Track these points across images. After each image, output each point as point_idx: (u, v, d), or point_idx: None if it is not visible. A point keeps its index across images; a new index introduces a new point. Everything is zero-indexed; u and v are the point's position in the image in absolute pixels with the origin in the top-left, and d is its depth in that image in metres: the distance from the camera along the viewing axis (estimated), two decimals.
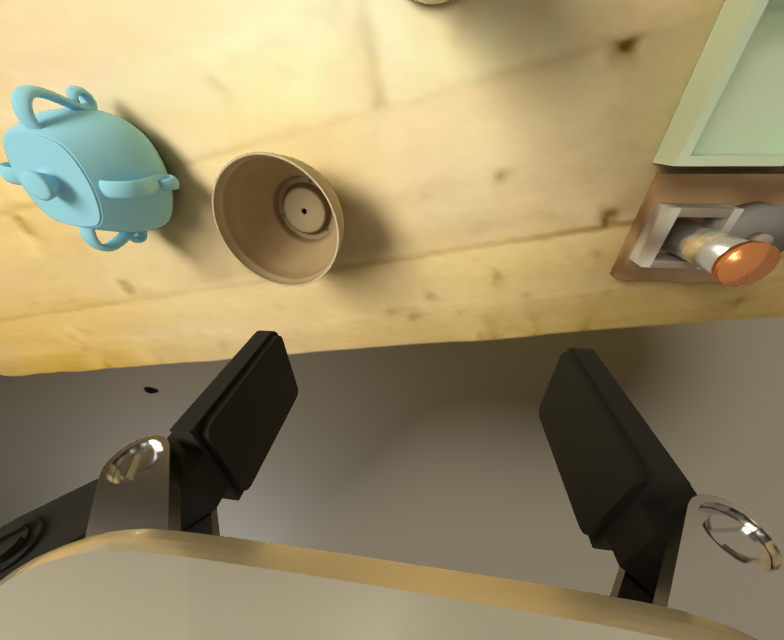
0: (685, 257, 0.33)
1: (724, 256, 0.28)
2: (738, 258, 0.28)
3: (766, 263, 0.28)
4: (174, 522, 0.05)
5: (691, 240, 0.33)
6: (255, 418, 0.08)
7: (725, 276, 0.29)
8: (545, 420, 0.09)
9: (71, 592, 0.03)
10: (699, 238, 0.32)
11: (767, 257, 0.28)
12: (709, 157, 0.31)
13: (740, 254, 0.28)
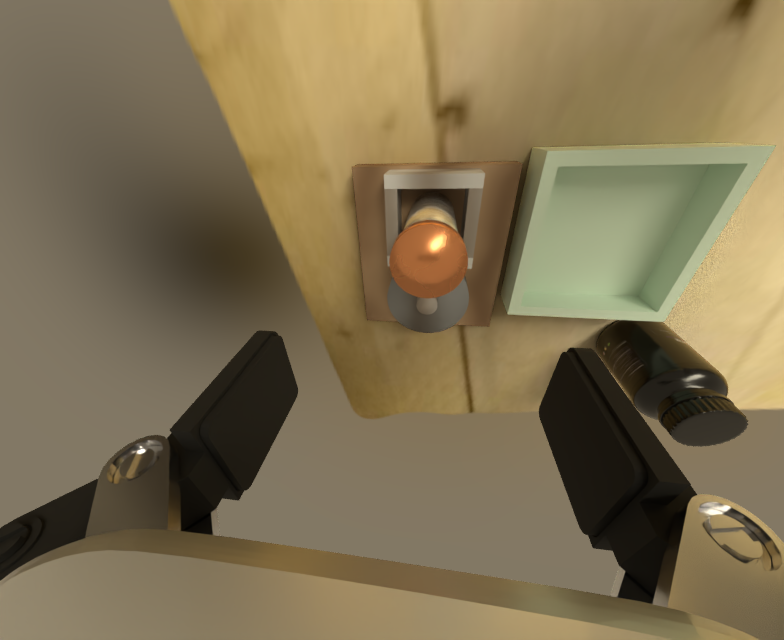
0: (413, 213, 0.20)
1: (443, 224, 0.16)
2: (443, 241, 0.16)
3: (433, 284, 0.17)
4: (174, 522, 0.05)
5: (441, 208, 0.20)
6: (255, 418, 0.08)
7: (407, 241, 0.16)
8: (545, 420, 0.09)
9: (72, 592, 0.03)
10: (447, 214, 0.19)
11: (442, 281, 0.17)
12: (548, 196, 0.22)
13: (449, 241, 0.16)
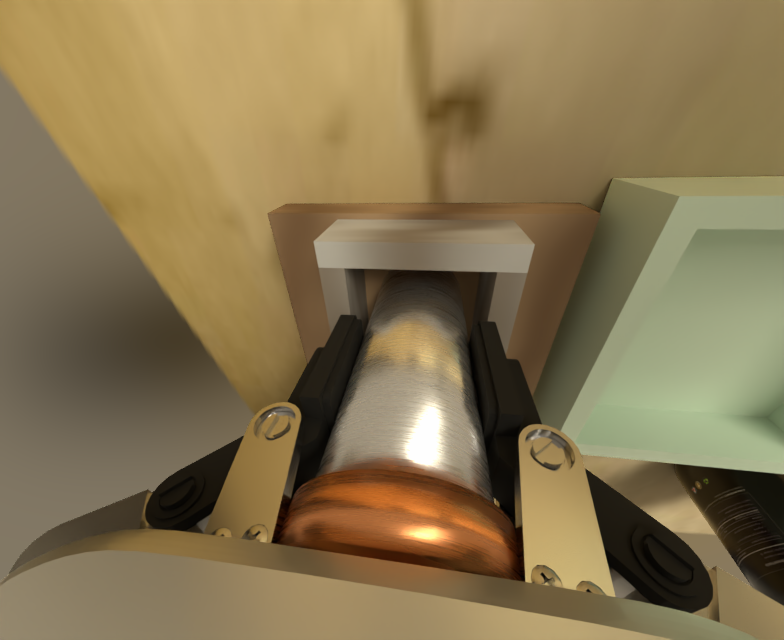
0: (372, 339, 0.09)
1: (443, 510, 0.04)
2: None
3: None
4: (285, 501, 0.05)
5: (438, 331, 0.08)
6: None
7: None
8: None
9: (71, 592, 0.03)
10: (452, 350, 0.08)
11: None
12: (660, 284, 0.10)
13: None
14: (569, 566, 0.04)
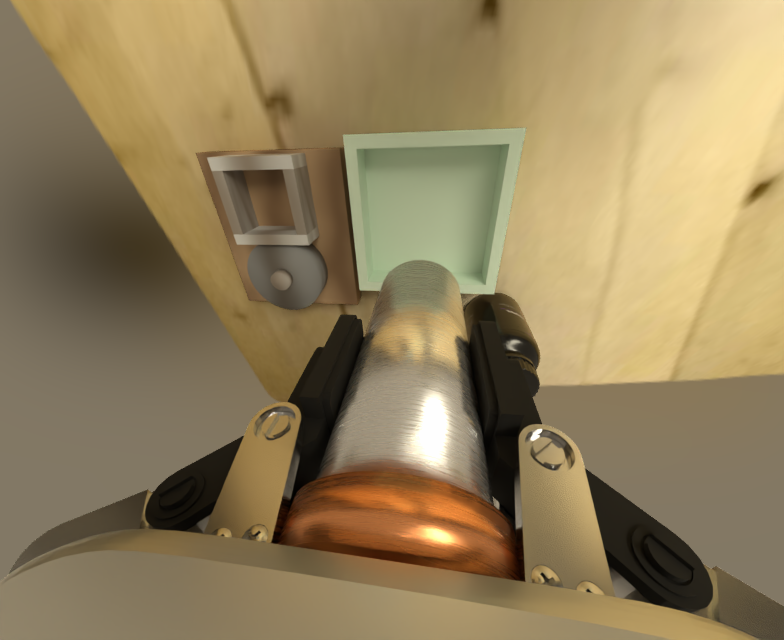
0: (372, 341, 0.09)
1: (443, 512, 0.04)
2: None
3: None
4: (285, 501, 0.05)
5: (437, 333, 0.09)
6: None
7: None
8: None
9: (71, 592, 0.03)
10: (452, 352, 0.08)
11: None
12: (356, 176, 0.24)
13: None
14: (569, 565, 0.04)
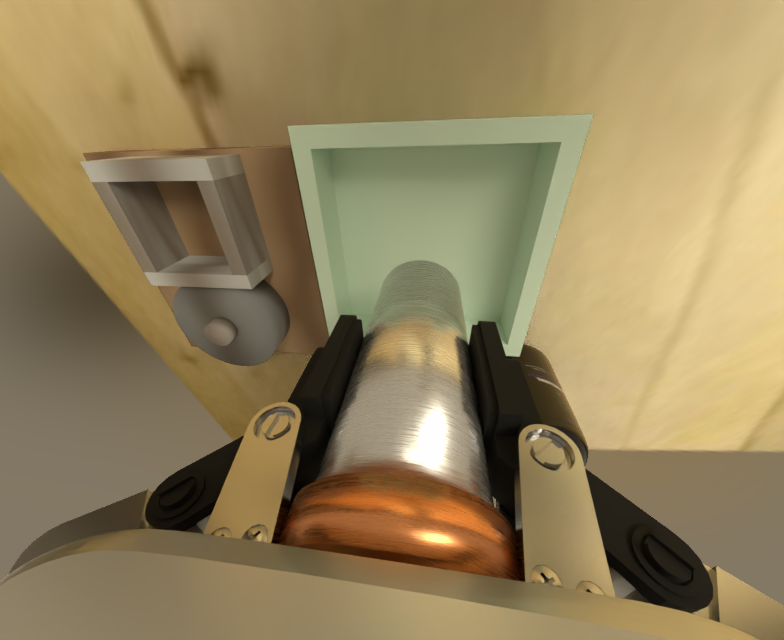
0: (372, 342, 0.09)
1: (442, 513, 0.04)
2: None
3: None
4: (285, 501, 0.05)
5: (437, 333, 0.08)
6: None
7: None
8: None
9: (72, 591, 0.03)
10: (452, 352, 0.08)
11: None
12: (314, 191, 0.15)
13: None
14: (568, 565, 0.04)
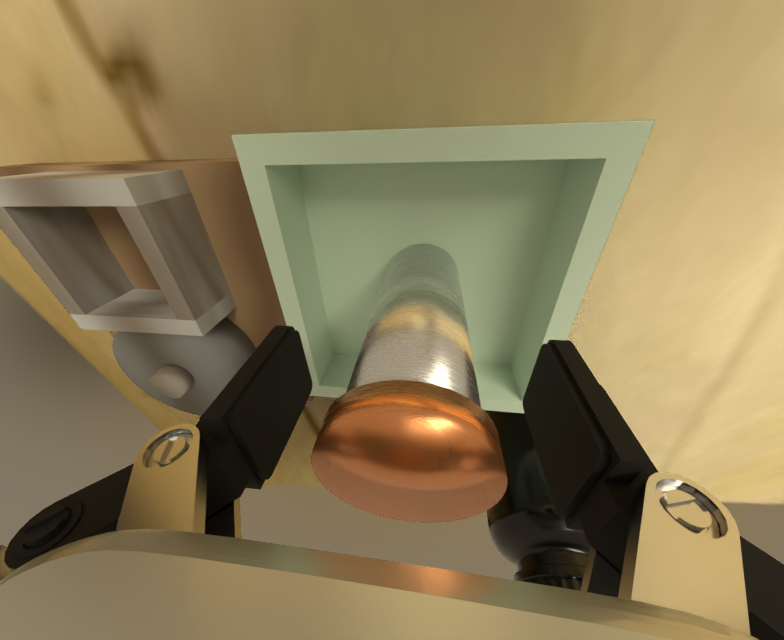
0: (383, 305, 0.10)
1: (443, 403, 0.06)
2: (444, 449, 0.06)
3: (419, 507, 0.07)
4: (199, 513, 0.05)
5: (438, 298, 0.10)
6: (275, 410, 0.08)
7: (349, 440, 0.06)
8: (528, 410, 0.10)
9: (71, 591, 0.03)
10: (450, 312, 0.10)
11: (442, 504, 0.07)
12: (274, 219, 0.12)
13: (460, 451, 0.06)
14: None
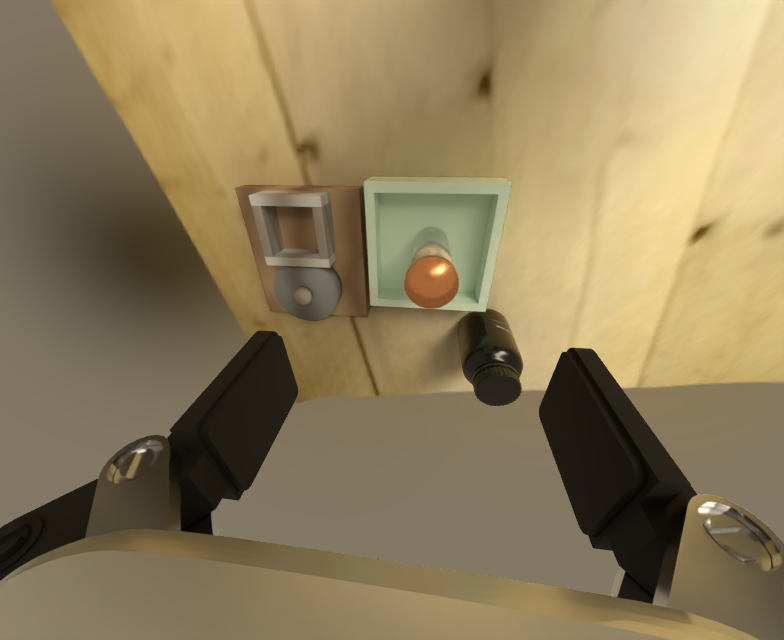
0: (419, 246, 0.27)
1: (442, 258, 0.23)
2: (442, 270, 0.23)
3: (434, 299, 0.24)
4: (174, 522, 0.05)
5: (440, 243, 0.27)
6: (255, 418, 0.08)
7: (417, 269, 0.23)
8: (545, 420, 0.09)
9: (72, 592, 0.03)
10: (444, 247, 0.27)
11: (441, 296, 0.24)
12: (373, 213, 0.29)
13: (446, 270, 0.23)
14: None
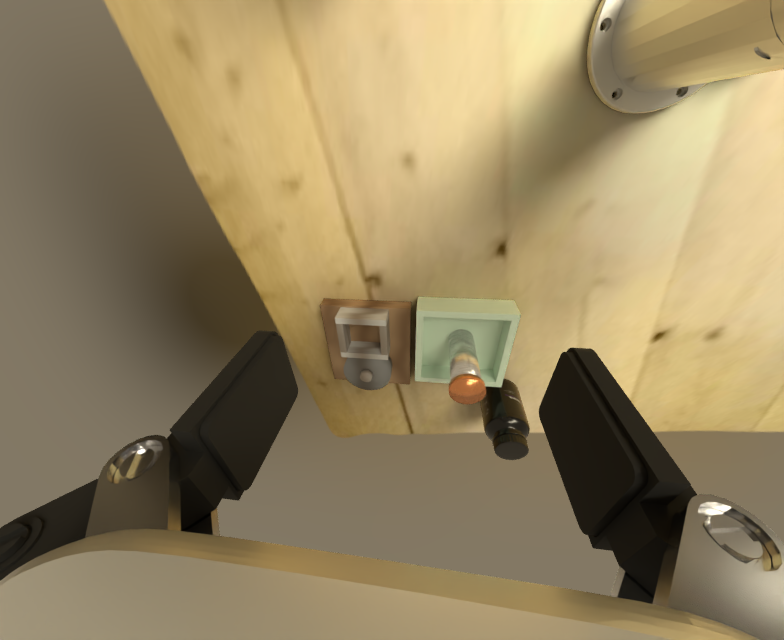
0: (456, 354, 0.39)
1: (475, 377, 0.35)
2: (475, 385, 0.35)
3: (469, 399, 0.36)
4: (174, 522, 0.05)
5: (470, 353, 0.39)
6: (255, 418, 0.08)
7: (458, 383, 0.35)
8: (545, 420, 0.09)
9: (71, 592, 0.03)
10: (473, 357, 0.39)
11: (473, 398, 0.36)
12: (421, 328, 0.41)
13: (478, 385, 0.35)
14: None
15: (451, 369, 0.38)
